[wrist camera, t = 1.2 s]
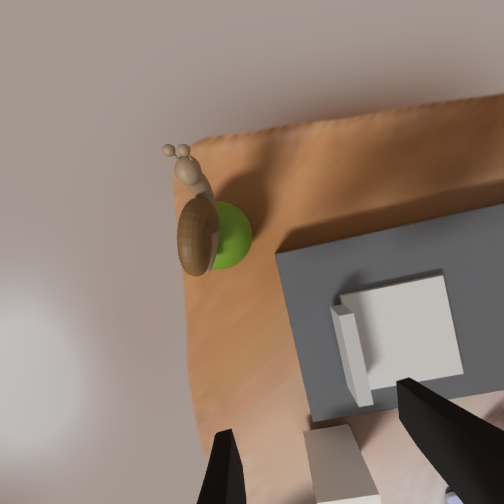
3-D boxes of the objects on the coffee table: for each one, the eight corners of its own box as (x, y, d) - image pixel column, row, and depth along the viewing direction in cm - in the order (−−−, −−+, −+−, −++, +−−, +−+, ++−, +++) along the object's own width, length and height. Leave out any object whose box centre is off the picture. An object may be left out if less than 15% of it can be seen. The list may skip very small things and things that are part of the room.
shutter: (458, 370, 19) (492, 393, 16) (347, 389, 20) (360, 415, 17) (438, 274, 19) (469, 280, 16) (326, 297, 19) (336, 307, 16)
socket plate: (564, 357, 21) (604, 372, 18) (308, 402, 22) (313, 422, 20) (532, 195, 20) (568, 189, 18) (274, 253, 22) (275, 254, 20)
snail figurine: (254, 195, 22) (238, 139, 10) (253, 266, 22) (237, 293, 10) (195, 195, 22) (111, 142, 10) (195, 265, 23) (113, 291, 11)
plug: (354, 459, 22) (392, 554, 16) (311, 466, 23) (329, 561, 16) (345, 417, 22) (379, 494, 15) (302, 424, 23) (316, 503, 16)
